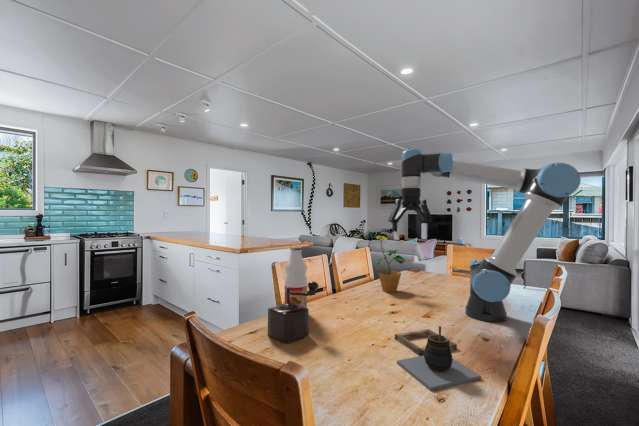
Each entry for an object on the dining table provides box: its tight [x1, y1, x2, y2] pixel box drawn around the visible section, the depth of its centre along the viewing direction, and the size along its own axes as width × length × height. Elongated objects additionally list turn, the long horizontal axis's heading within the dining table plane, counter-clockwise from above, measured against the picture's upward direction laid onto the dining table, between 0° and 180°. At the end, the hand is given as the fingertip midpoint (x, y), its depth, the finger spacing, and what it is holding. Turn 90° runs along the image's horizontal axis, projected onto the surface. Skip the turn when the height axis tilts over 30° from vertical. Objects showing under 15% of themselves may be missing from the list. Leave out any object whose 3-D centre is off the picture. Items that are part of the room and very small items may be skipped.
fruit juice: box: [284, 246, 308, 308], centre depth 128 cm, size 9×9×28 cm
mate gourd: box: [423, 326, 453, 371], centre depth 83 cm, size 7×8×10 cm
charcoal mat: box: [396, 355, 482, 392], centre depth 82 cm, size 16×14×1 cm
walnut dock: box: [394, 328, 458, 356], centre depth 99 cm, size 14×13×2 cm
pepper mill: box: [267, 281, 319, 345], centre depth 107 cm, size 16×11×18 cm
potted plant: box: [373, 235, 407, 293], centre depth 165 cm, size 18×19×30 cm
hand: (410, 239), depth 126 cm, fingers open, 13 cm apart
